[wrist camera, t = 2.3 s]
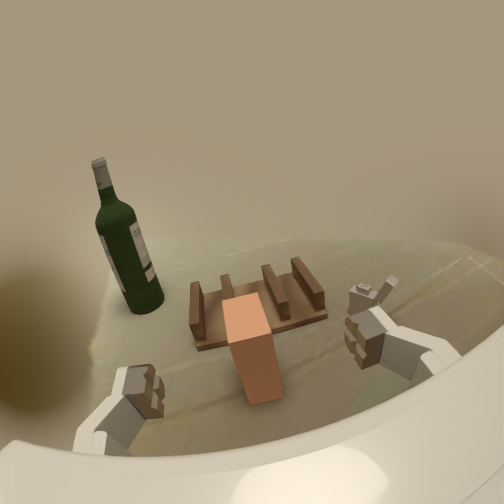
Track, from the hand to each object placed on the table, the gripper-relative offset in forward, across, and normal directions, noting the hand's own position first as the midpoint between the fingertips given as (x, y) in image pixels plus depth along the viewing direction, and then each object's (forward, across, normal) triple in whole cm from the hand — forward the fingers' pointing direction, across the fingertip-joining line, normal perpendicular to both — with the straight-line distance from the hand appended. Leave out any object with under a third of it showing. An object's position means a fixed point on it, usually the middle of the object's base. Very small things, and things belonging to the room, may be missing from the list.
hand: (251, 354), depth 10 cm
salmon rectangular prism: (+14, 0, +20) cm, 24 cm away
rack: (+29, -2, +20) cm, 35 cm away
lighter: (+19, -18, +20) cm, 33 cm away
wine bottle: (+39, +19, +20) cm, 48 cm away
